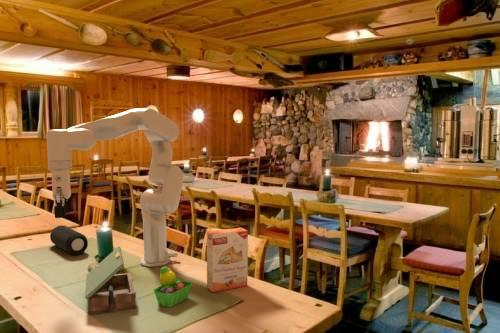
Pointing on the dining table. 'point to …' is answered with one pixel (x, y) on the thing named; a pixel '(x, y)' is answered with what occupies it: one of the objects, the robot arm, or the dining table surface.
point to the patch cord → (111, 297)
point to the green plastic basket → (171, 288)
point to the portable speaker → (69, 240)
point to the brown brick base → (121, 292)
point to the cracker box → (227, 259)
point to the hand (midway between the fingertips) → (61, 214)
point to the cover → (103, 272)
